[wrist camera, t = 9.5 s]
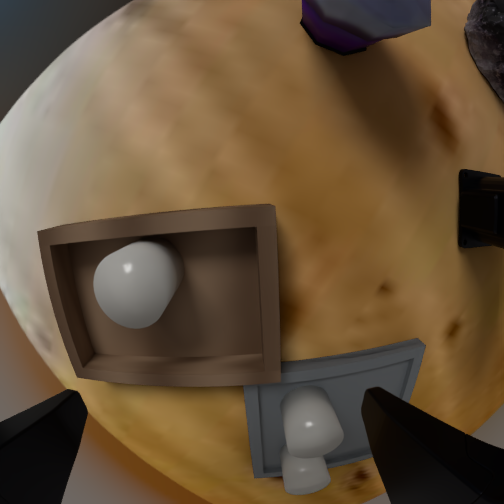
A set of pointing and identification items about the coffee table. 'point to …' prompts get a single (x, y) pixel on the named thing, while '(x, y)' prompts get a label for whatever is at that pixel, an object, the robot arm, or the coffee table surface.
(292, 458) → the stone
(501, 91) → the crystal cluster
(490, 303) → the coffee table surface
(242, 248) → the walnut box
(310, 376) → the slate tray
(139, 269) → the stone
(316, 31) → the potion bottle
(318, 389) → the stone
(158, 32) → the coffee table surface
